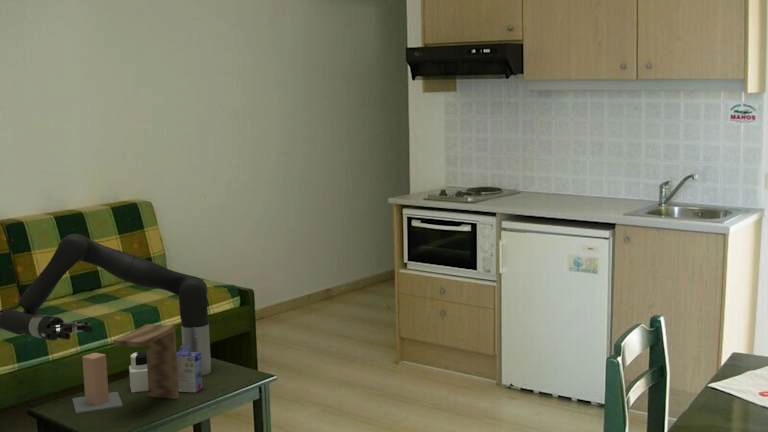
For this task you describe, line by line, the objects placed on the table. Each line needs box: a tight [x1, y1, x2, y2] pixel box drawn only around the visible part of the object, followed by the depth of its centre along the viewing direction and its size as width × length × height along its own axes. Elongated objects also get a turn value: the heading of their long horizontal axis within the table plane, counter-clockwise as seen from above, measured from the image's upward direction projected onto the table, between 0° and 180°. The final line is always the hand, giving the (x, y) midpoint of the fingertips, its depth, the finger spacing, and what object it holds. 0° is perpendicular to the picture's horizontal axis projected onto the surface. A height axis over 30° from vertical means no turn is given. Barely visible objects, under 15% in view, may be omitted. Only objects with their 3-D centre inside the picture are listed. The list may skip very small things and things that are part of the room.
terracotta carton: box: [81, 352, 109, 405], centre depth 288 cm, size 5×5×15 cm
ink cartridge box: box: [176, 345, 203, 393], centre depth 300 cm, size 10×6×14 cm, turn 78°
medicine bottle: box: [128, 351, 149, 393], centre depth 303 cm, size 7×7×12 cm
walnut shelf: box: [112, 323, 180, 400], centre depth 285 cm, size 10×19×24 cm, turn 163°
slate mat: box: [72, 391, 124, 415], centre depth 290 cm, size 14×14×1 cm
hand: (80, 332), depth 289 cm, fingers open, 8 cm apart
